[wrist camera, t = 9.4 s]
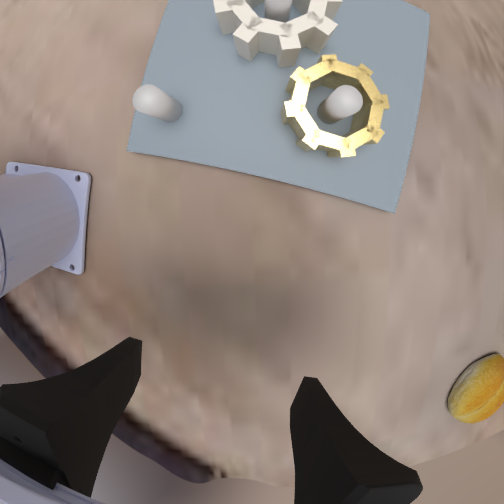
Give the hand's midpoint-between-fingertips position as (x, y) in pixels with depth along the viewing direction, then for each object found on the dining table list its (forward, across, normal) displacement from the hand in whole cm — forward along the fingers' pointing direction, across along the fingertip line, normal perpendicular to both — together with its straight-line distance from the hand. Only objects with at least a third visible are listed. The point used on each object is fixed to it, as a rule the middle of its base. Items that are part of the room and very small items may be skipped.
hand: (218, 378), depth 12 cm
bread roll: (+10, -28, +6) cm, 31 cm away
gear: (+9, +2, -18) cm, 20 cm away
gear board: (+10, 0, -16) cm, 19 cm away
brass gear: (+9, -3, -13) cm, 16 cm away
